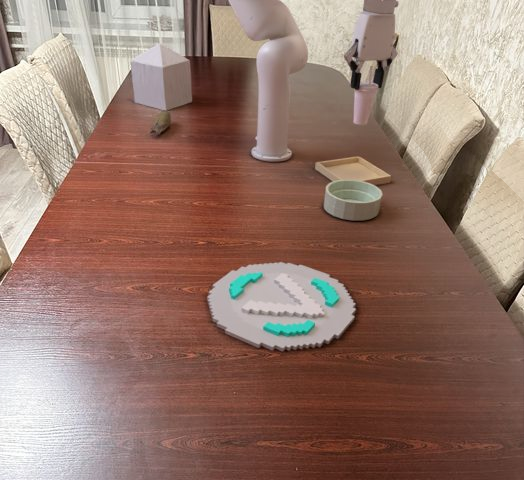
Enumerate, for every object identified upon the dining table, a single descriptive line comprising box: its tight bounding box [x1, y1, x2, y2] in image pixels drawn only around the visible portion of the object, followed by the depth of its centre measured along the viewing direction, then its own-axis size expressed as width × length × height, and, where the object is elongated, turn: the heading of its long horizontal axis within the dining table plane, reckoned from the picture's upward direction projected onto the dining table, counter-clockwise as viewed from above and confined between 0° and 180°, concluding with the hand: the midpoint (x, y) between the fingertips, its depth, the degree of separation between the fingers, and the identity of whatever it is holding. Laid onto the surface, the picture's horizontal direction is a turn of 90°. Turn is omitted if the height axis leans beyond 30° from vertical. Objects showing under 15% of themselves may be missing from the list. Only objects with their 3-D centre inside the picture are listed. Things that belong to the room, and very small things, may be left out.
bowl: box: [323, 180, 384, 221], centre depth 135 cm, size 14×15×5 cm
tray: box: [314, 155, 392, 186], centre depth 153 cm, size 17×16×2 cm
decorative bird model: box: [148, 110, 172, 136], centre depth 175 cm, size 5×20×5 cm, turn 175°
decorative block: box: [130, 43, 193, 111], centre depth 196 cm, size 16×16×20 cm
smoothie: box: [353, 65, 379, 126], centre depth 138 cm, size 6×6×14 cm
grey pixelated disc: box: [206, 261, 357, 352], centre depth 101 cm, size 28×28×2 cm
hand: (365, 87), depth 137 cm, fingers closed on smoothie, 6 cm apart
